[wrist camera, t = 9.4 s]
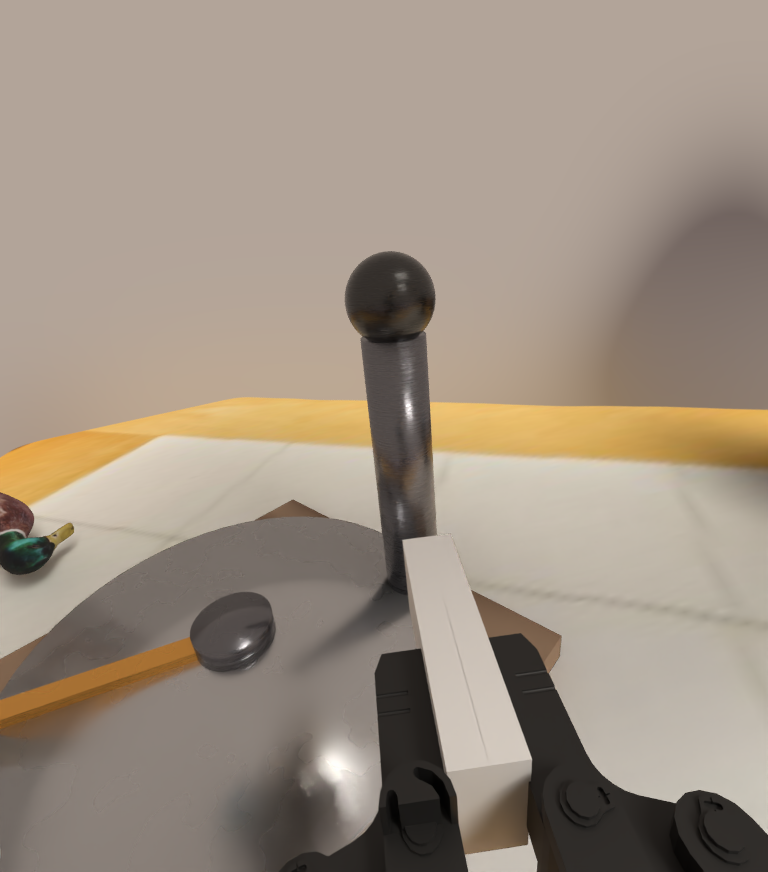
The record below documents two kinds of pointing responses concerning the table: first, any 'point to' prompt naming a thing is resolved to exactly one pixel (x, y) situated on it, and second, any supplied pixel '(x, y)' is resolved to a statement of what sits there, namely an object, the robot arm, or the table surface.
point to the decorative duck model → (24, 538)
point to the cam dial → (233, 663)
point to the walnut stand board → (492, 613)
